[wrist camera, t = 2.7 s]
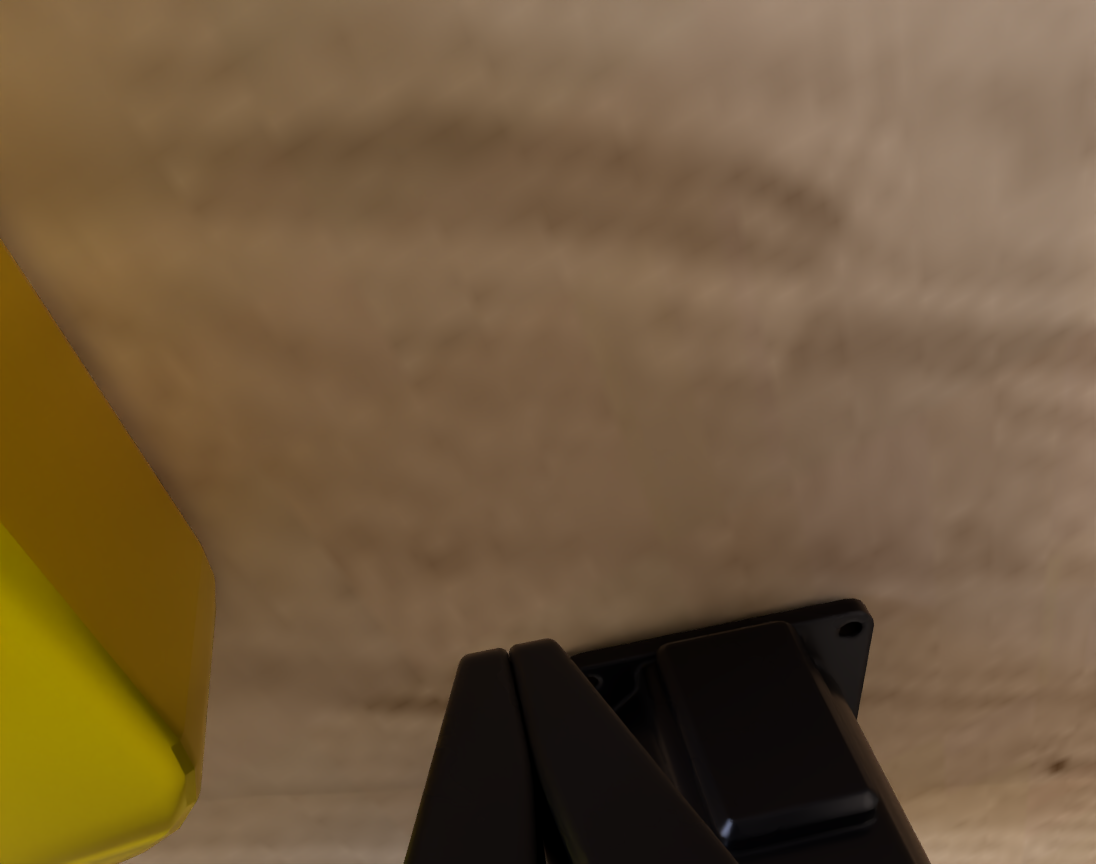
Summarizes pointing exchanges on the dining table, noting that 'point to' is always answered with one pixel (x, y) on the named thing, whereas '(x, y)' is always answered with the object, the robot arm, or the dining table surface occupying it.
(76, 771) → the element tile
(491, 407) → the dining table surface
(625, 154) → the dining table surface
